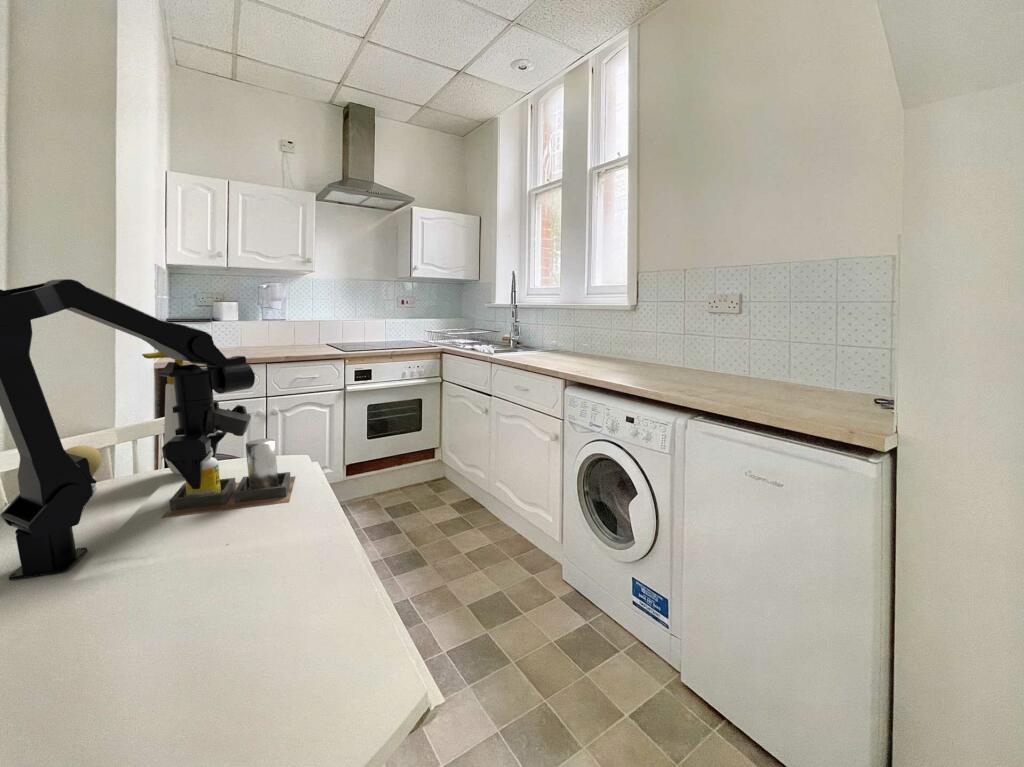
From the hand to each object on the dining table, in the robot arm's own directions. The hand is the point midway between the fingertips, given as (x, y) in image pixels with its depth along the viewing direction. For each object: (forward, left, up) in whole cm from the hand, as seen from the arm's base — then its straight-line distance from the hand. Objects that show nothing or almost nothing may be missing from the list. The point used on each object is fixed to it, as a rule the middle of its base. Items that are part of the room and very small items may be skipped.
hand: (203, 479), depth 88 cm
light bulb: (+14, +24, -5) cm, 28 cm away
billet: (0, -10, -4) cm, 11 cm away
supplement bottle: (0, 0, -4) cm, 4 cm away
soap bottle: (+19, +8, -5) cm, 21 cm away
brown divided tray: (0, -5, -5) cm, 7 cm away
